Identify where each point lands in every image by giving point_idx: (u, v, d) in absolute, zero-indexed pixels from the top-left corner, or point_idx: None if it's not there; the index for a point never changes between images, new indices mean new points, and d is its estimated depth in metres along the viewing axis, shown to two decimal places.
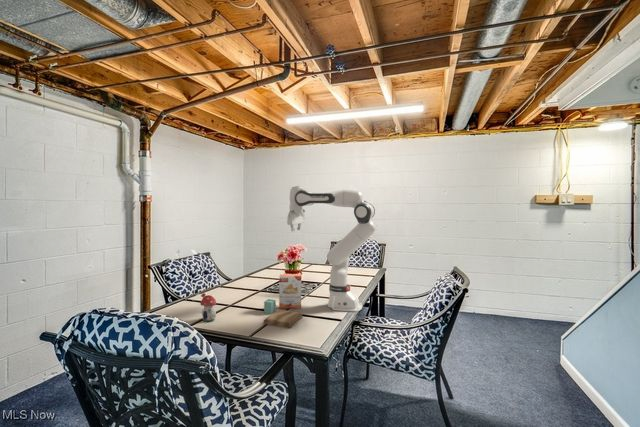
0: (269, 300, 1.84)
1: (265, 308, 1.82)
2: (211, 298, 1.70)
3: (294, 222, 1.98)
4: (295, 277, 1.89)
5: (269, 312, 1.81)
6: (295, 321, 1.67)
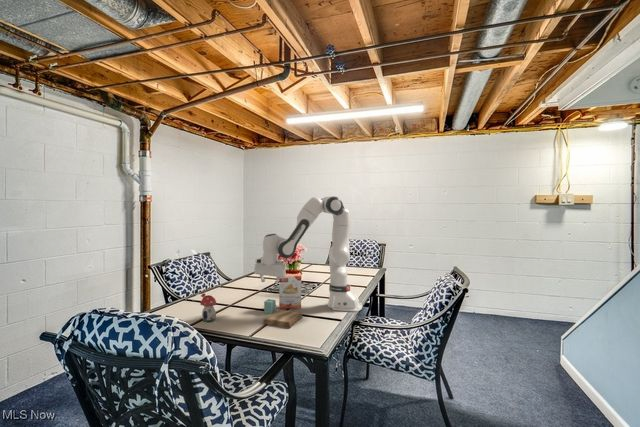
0: (269, 300, 1.84)
1: (265, 308, 1.82)
2: (211, 298, 1.70)
3: None
4: (295, 277, 1.89)
5: (269, 312, 1.81)
6: (295, 321, 1.67)
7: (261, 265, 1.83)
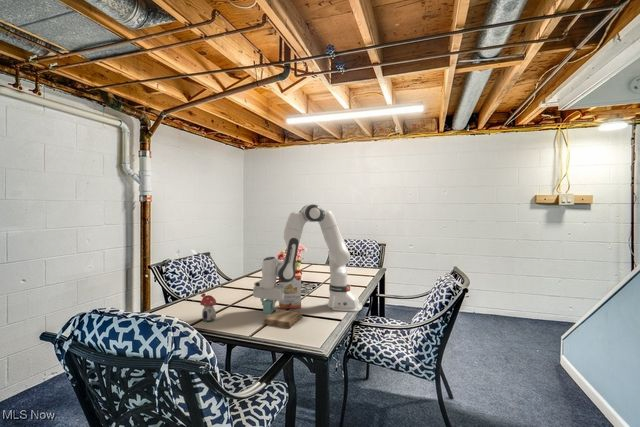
0: (268, 300, 1.85)
1: (264, 308, 1.82)
2: (211, 298, 1.70)
3: None
4: (294, 277, 1.89)
5: (268, 312, 1.82)
6: (295, 321, 1.67)
7: (260, 288, 1.83)
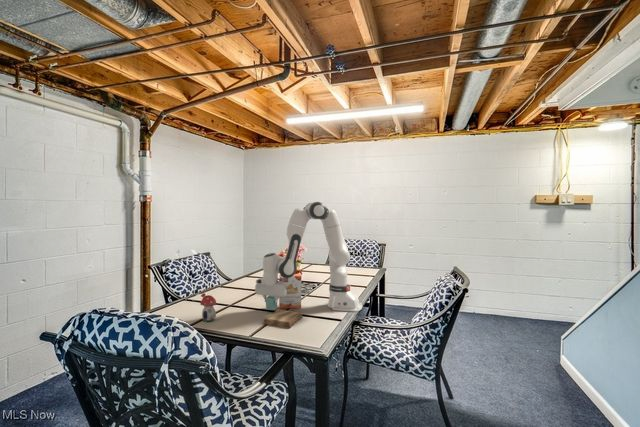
0: (271, 296, 1.85)
1: (267, 304, 1.83)
2: (211, 298, 1.70)
3: None
4: (295, 277, 1.89)
5: (271, 308, 1.82)
6: (295, 321, 1.67)
7: (262, 285, 1.83)
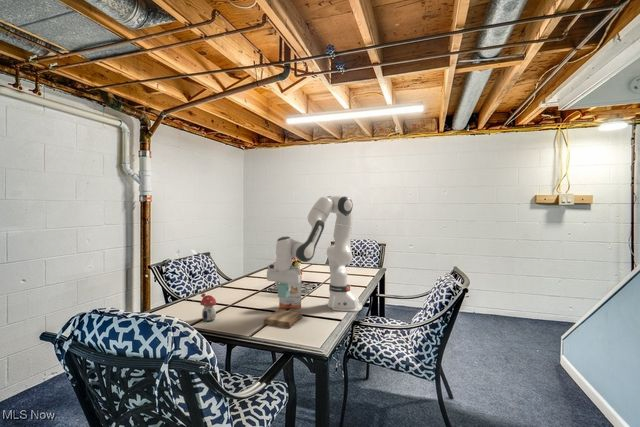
0: (283, 283, 1.71)
1: (279, 292, 1.69)
2: (211, 298, 1.70)
3: None
4: None
5: (283, 296, 1.68)
6: (295, 321, 1.67)
7: (274, 271, 1.69)
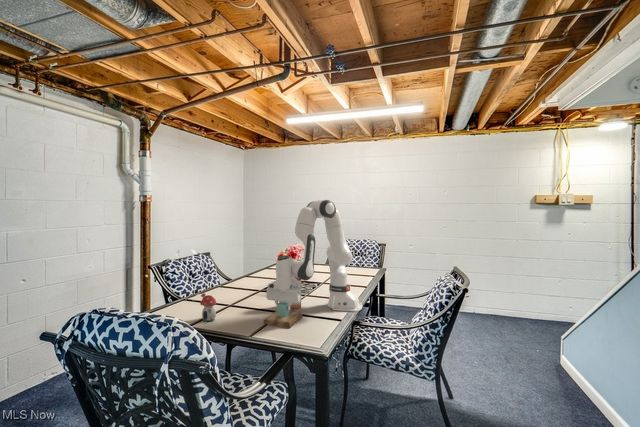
0: (283, 302, 1.71)
1: (279, 311, 1.69)
2: (211, 298, 1.70)
3: None
4: (295, 277, 1.89)
5: (283, 315, 1.68)
6: (295, 321, 1.67)
7: (274, 290, 1.70)
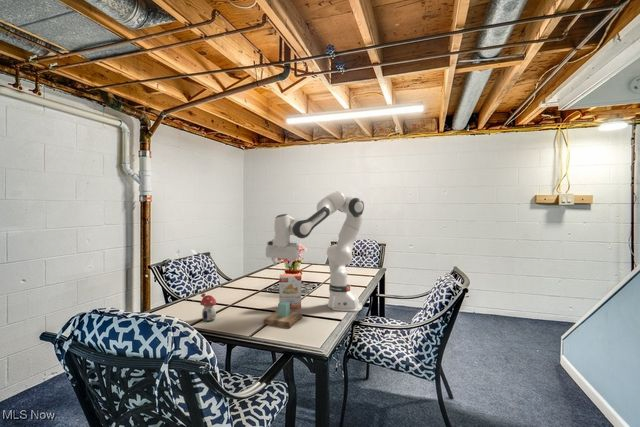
0: (283, 302, 1.71)
1: (279, 311, 1.69)
2: (211, 298, 1.70)
3: None
4: (295, 277, 1.89)
5: (283, 315, 1.68)
6: (295, 321, 1.67)
7: (273, 247, 1.74)
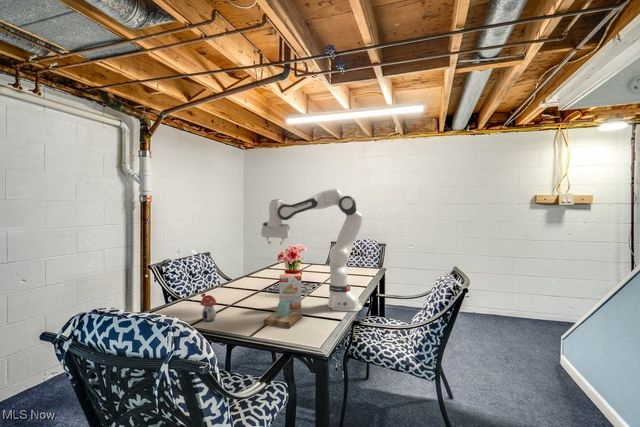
0: (283, 302, 1.71)
1: (279, 311, 1.69)
2: (211, 298, 1.70)
3: None
4: (295, 277, 1.89)
5: (283, 315, 1.68)
6: (295, 321, 1.67)
7: (267, 228, 2.01)
